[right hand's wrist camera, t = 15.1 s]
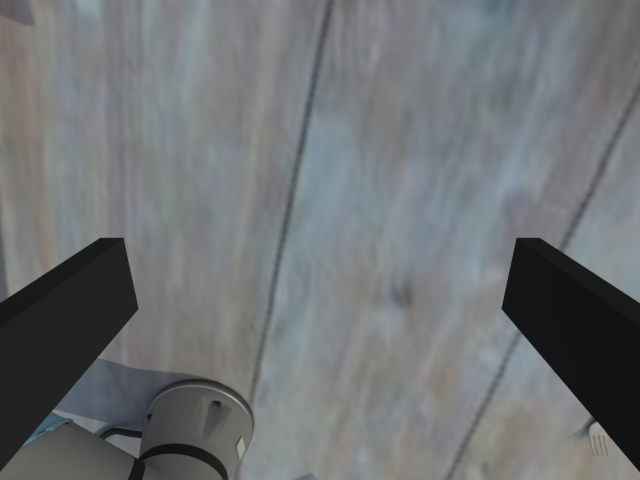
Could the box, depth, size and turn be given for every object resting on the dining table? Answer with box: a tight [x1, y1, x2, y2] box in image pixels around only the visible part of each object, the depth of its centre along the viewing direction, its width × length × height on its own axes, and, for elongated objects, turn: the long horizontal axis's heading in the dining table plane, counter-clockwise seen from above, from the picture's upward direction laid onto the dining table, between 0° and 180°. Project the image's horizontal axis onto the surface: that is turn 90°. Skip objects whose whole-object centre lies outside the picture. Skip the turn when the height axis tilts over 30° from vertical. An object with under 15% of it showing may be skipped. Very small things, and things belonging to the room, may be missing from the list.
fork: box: [589, 421, 609, 456], centre depth 51 cm, size 3×16×2 cm, turn 2°
